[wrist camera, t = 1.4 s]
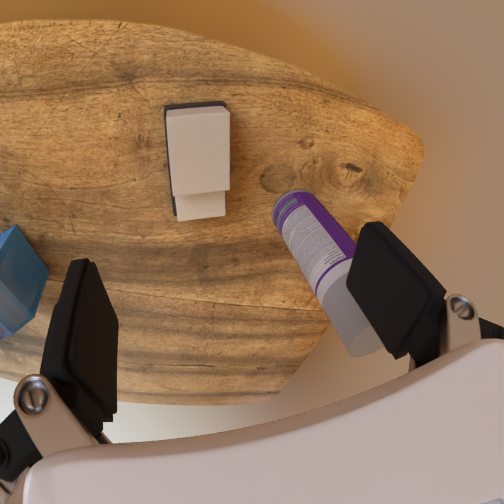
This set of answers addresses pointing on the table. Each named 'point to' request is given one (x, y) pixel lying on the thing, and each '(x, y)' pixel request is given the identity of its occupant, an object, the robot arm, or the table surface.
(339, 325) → the container
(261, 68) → the table surface
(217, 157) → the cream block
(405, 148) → the table surface
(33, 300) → the perfume bottle
